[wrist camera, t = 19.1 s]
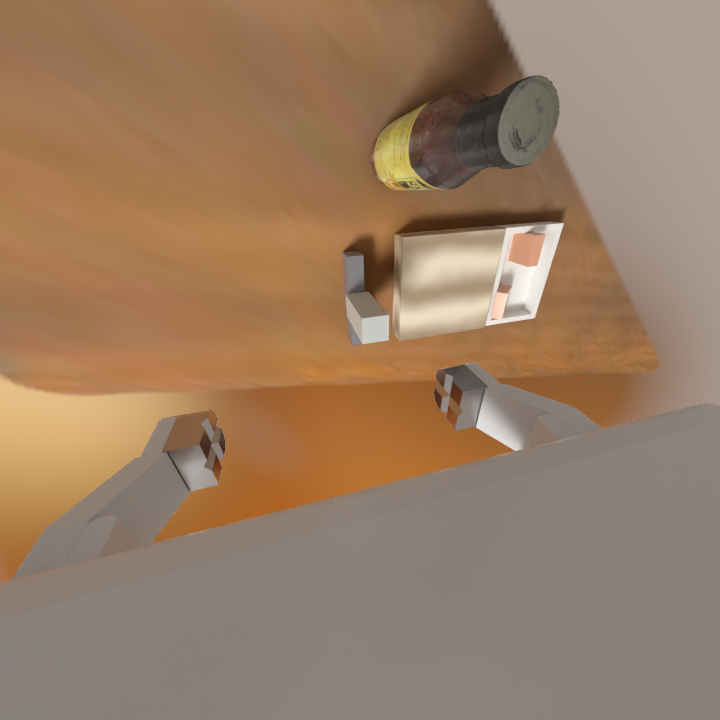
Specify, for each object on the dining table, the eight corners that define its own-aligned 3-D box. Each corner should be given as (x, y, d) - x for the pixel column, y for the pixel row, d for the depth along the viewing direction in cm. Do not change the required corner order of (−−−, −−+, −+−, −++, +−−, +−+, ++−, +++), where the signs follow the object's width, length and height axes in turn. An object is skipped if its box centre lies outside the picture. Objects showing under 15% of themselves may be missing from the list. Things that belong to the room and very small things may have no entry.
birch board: (394, 233, 36) (403, 237, 34) (491, 225, 39) (505, 228, 37) (392, 332, 44) (399, 340, 41) (473, 319, 47) (484, 327, 44)
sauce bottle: (376, 197, 34) (471, 208, 17) (362, 132, 30) (465, 69, 14) (426, 179, 34) (567, 173, 18) (419, 113, 31) (584, 29, 14)
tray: (494, 225, 39) (506, 227, 37) (549, 221, 41) (563, 223, 39) (476, 319, 47) (485, 325, 45) (523, 312, 48) (534, 318, 46)
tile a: (535, 235, 37) (545, 234, 37) (514, 231, 40) (523, 230, 40) (527, 267, 39) (537, 265, 39) (507, 260, 42) (516, 259, 42)
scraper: (338, 252, 36) (359, 274, 27) (361, 250, 37) (389, 271, 28) (344, 336, 42) (363, 377, 33) (364, 333, 43) (388, 373, 34)
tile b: (496, 292, 41) (507, 293, 40) (501, 284, 44) (512, 285, 43) (490, 317, 43) (501, 319, 42) (495, 309, 46) (505, 310, 45)
